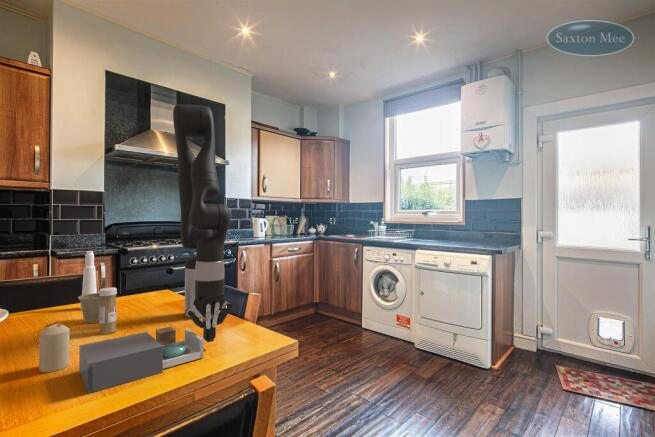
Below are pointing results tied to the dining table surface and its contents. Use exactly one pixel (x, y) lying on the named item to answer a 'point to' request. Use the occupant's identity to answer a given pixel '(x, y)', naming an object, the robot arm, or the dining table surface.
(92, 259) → the cosmetic bottle
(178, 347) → the teal flattened disc
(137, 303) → the dining table surface
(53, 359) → the candle
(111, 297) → the sprinkles bottle
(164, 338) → the block
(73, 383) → the dining table surface
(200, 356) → the tray
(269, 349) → the dining table surface
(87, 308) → the flower pot
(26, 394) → the dining table surface
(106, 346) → the block
